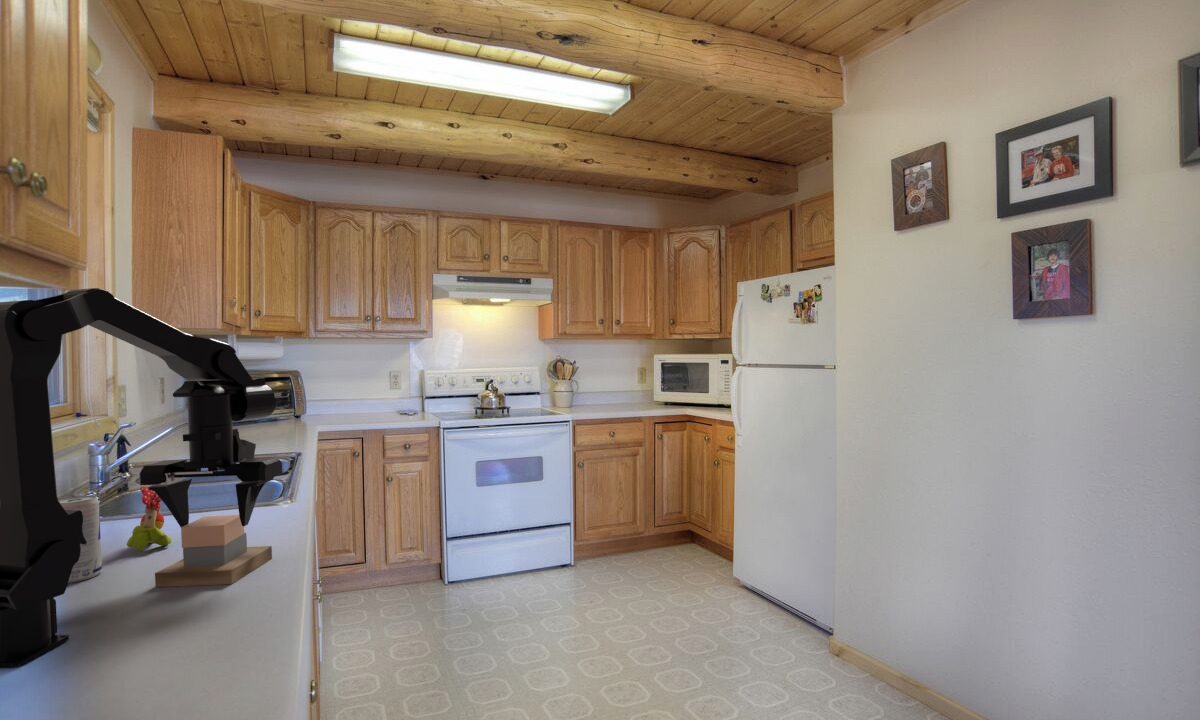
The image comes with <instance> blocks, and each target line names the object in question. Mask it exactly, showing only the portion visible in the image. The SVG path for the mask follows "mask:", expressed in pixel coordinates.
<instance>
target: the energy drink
mask: <svg viewBox="0 0 1200 720" xmlns="http://www.w3.org/2000/svg"><path fill="white" fill-rule="evenodd" d="M58 500H59V502H60V503H61V505H62V506H63V508H64V509H65V510H80V511H82V515H83V526H82V532H83V536H84V538H85V540H86V541H87V543H86V544H85V545H84V544H81V555H80V558H79V561H78V562H77V563H75V565H74V566H73V568H72V571H71V575H70V578H69V581H68V584H70V583H77V582H78V583H79V582H81V581H86V580H87V581H88V580H89V579H93V578H95V577H97V576H99V575H100V574H101V573H102V571H103V563H102V543H101V541H102V540H101V519H100V517H101V516H100V500H99V499H98V496H97V495H93V494H91V495H79V496H78V495H77V496H71V497H67V498H62V499H58Z"/></svg>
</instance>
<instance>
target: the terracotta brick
mask: <svg viewBox="0 0 1200 720" xmlns="http://www.w3.org/2000/svg"><path fill="white" fill-rule="evenodd" d="M180 531H181V532H180V536H181V537H180V538H181V549H183V548H187V547H203V546H219V545H226V544H228V543H229V542H231V541H232V540H234V539H236V538H237V537H239V536H241V535H242V534H244V533H245V526H242V524H241V521H240V516H239V514H233V515H232V514H231V515H230V514H228V515H225V514H224V515H211V516H202V517H200V518H197V519H195V520H194V521H192V522H190V523H189V524H187V525H185V526H183V527H180Z"/></svg>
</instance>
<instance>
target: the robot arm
mask: <svg viewBox="0 0 1200 720" xmlns="http://www.w3.org/2000/svg"><path fill="white" fill-rule="evenodd" d="M87 326H90V327H91V328H94V329H97V330H99V331H101V332H102V333H105V334H108V335H109V336H112V337H114V338H117V339H118V340H121V341H123V342H125V343H127V344H130V345H133V346H134V347H136V348H139V349H141V350H143V351H146V352H148V353H150V354H152V355H155V357H156V356H157V357H158V358H160V359H162V360H163V361H164V362H165V364H166V365H167V367H168V369H170V370H171V371H173V372H174V373H176V374H177V375H179V376H180V377H181V378H183V379H185V380H186V381H184V382H183V383H182V385H181V386H180V387H179V388H177V389H175V391H174V392H173V393H172V397H173V398H186V400H187V402H186V403H187V422H188V425H187V427H188V430H187V431H188V433H184V434H182V442H188V449H189V451H188V453H189V460H187V459H174V460H167V459H166V460H162V461H158V462H153V463H149V464H146V465H143V467H142V468H141V469H140V471H139V475H138V478H139V479H138V480H139V486H147V487H148V489H149V491H154V492H155V493H156V494H157V497H158V496H159V498H160V499H161V500H162V501H161V502H163V504H164V505H165V506H166V508H167V509H168V511H169V512H170V513H171V515H172V516H173V518H174V520H175V521H176V522H177V523H178V525H179V527H180V528H181V527H183V526H185V525H187V524H189V520H190V509H189V507H190V506H189V489H190V486H191V483H192V481H193V478H204V477H205V478H206V477H231V476H234V477H235V476H236V477H237V478H238V479H239V480H240V481H241V482H238V483H236V484H235V492H236V499H237V507H238V515H239V516H240V521H241V524H242V526H244V527H246V526H248V525H249V523H250V520H251V517H252V515H253V512H254V509H255V505H256V502H257V500H258V497H259V495H260V493H261V491H262V489H263V487H264V486H265V485H266V484H267V483H268V482H271V481H273V480H274V479H275V477H277V476H280V475H282V474H283V473H284V472H283V463H282V461H281V460H280V458H279V457H278V456H258V457H255V452H256V447H257V443H254V442H251V441H248V440H246V439H243V438H242V439H241V438H240V432H239V429H238V428H234V427H233V423H234V422H241V421H248V420H255V419H256V420H257V419H263V418H267V417H270V416H271V415H272V414H273V413H274V411H275V410H276V407H277V396H276V395H275V392H274V391H273V389H272V388H271V387H270V386H269V385H267V384H266V378H265V377H252V376H251V375H250V373H249V372H248V371H247V369H246V367H245V366H244V365H243V363H242V362H241V360H240V359H239V357H238V356H237V354H236V353H237V351H236V349H235V347H233V346H232V345H231V344H229V343H227V342H223V341H220V340H218V339H217V340H216V339H215V338H214V339H213V338H209V337H204V336H198V335H194V334H191V333H187V332H184V331H182V330H180V329H179V328H176V327H174V326H172V325H170V324H169V323H166V322H164V321H162V320H160V319H159V318H157V317H155V316H153V315H150V314H149V313H146V311H145V312H144V311H143V310H140V309H138V308H136V307H135V306H133V305H130V304H129V303H127V302H125V301H123V300H120V299H119V298H117V297H115V296H114V295H113V294H112V293H111V292H109V291H107V290H105V289H102V288H99V287H98V288H97V287H94V288H80V289H78V288H77V289H72V290H69V291H67V292H65V293H61V294H57V295H54V296H53V295H52V296H49V297H45V298H39V299H34V300H33V299H25V300H12V301H10V300H9V301H0V668H5V667H6V668H7V667H18V666H22V665H24V664H26V663H28V662H30V661H31V660H33V659H35V658H37V657H38V656H41V655H42V654H45V653H46V652H48V651H49V650H52V649H53V648H55V647H57V646H58V645H61V644H63V643H65V642H66V641H68V640H69V639H70V634H57V633H58V618H57V617H58V616H57V601H56V599H55V598H57V597H59V596H62V595H64V594H65V593H66V590H67V587H68V584H69V583H68V581H69V578H70V575H71V571H72V568H73V566H74V565H75V563H77V562H78V561H79V558H80V555H81V544H84V545H85V544H86V543H87V541H86V540H85V538H84V536H83V532H82V526H83V515H82V511H80V510H65V509H64V508H63V506H62V505H61V503H60V502H59V500H60V499H59V497H58V493H57V492H58V491H57V480H56V465H55V455H54V454H55V453H54V444H53V443H54V442H53V431H52V429H53V428H52V418H51V407H50V404H51V403H50V393H49V383H48V382H49V376H50V374H51V372H52V370H53V369H54V366H55V365H56V363H57V361H58V359H59V357H60V355H61V351H62V341H63V335H66V334H69V333H72V332H75V331H78V330H81V329H83V328H84V327H87ZM202 469H207V470H202Z"/></svg>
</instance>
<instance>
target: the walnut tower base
mask: <svg viewBox="0 0 1200 720" xmlns="http://www.w3.org/2000/svg"><path fill="white" fill-rule="evenodd" d="M272 550H273V548H272V545H269V546H268V545H266V546H265V545H263V546H247V552H246V553H244V554H242V555H241V556H239V557H237V558H235V559H234V560H232V561H230V562H229V563H227V564H225V565H209V566H186V567H184V560H183V559H181V560H178V561H176V562H174V563H172V564H171V565H169V566H166V567H164V568H163V569H161V570H158V571H157V572H154V579H155V580H154V582H155V584H154V585H155V588H163V587H165V588H166V587H167V588H168V587H187V586H188V587H190V586H191V587H192V586H193V587H194V586H215V585H233V584H234V583H236V582H237V581H239V580H241V579H242V578H243V577H245V576H247V575H248V574H250V573H252V572H254V570H256V569H258V568H259V567H261V566H263V565H264V564H266V563H267V562H269V561H270V560H271V559H273V551H272Z"/></svg>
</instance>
